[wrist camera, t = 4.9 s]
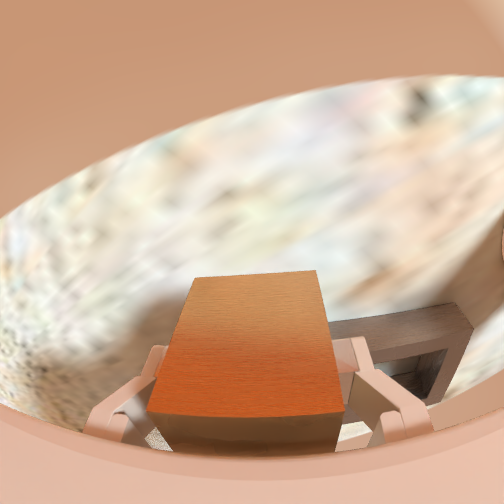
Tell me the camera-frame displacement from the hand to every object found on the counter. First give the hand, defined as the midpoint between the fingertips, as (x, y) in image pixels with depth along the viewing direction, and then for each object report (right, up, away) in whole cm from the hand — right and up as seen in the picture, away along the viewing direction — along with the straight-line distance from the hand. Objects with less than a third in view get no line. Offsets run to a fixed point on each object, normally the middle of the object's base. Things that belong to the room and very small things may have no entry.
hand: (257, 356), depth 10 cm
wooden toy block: (0, +1, +2) cm, 2 cm away
